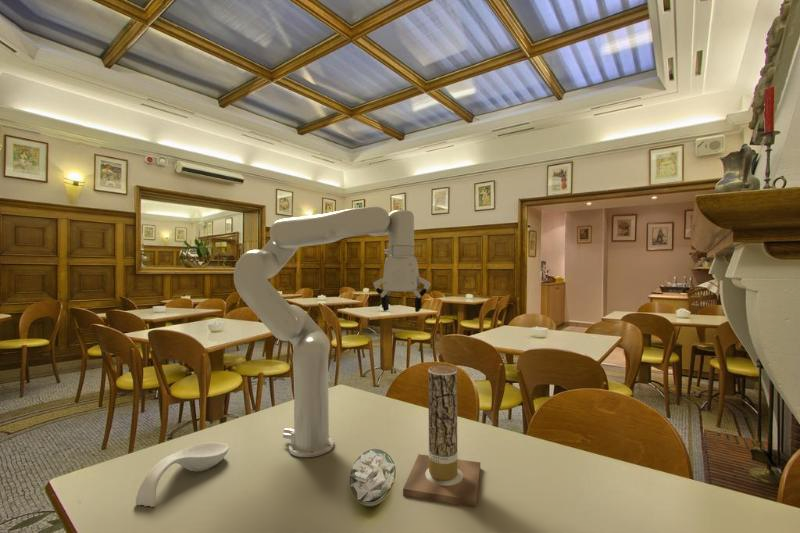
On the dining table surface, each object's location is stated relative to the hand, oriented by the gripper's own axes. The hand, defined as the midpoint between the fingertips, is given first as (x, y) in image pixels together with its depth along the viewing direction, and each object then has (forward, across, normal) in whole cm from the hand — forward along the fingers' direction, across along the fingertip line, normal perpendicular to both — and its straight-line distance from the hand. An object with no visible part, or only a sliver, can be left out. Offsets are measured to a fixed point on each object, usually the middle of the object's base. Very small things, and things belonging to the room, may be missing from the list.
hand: (401, 310), depth 109 cm
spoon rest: (+39, -46, -32) cm, 68 cm away
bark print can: (+37, +15, -17) cm, 43 cm away
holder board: (+38, +15, -17) cm, 45 cm away
